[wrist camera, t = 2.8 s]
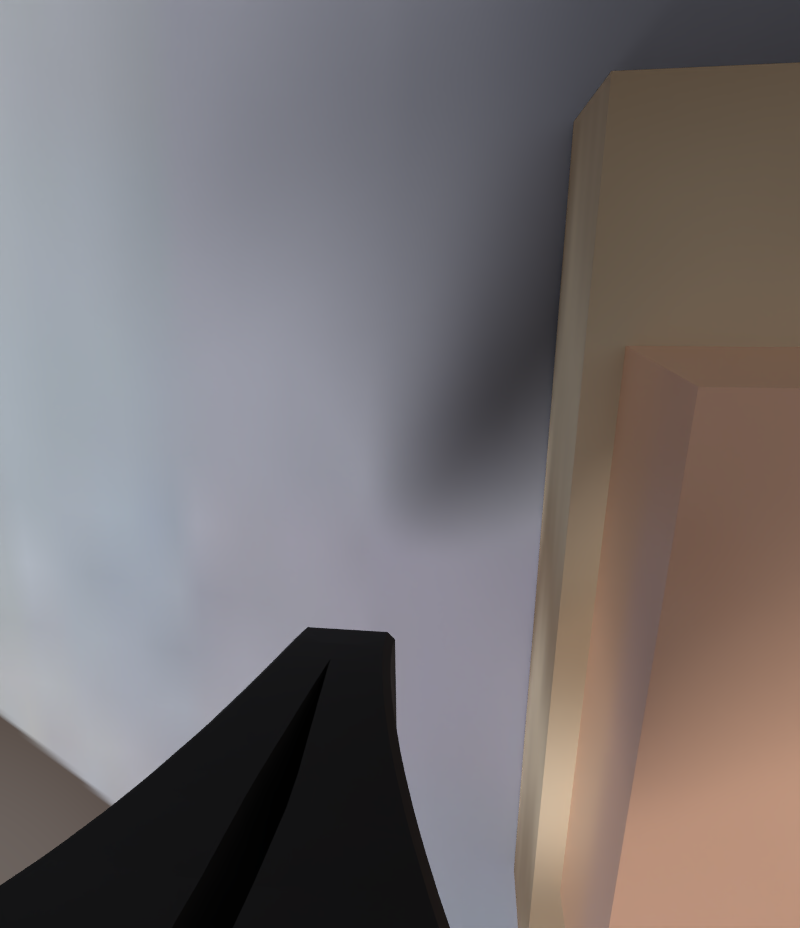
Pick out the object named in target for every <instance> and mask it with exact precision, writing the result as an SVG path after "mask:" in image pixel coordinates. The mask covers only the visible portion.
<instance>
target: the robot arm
mask: <svg viewBox="0 0 800 928" xmlns="http://www.w3.org/2000/svg"><path fill="white" fill-rule="evenodd" d="M0 928H450V927H449V924H448V921H447V918H446V915H445V912H444V909H443V906H442V903H441V900H440V897H439V894H438V891H437V888H436V885H435V881H434V878H433V875H432V872H431V869H430V865H429V862H428V859H427V856H426V852H425V849H424V845H423V842H422V838H421V835H420V831H419V828H418V824H417V820H416V817H415V813H414V809H413V805H412V801H411V797H410V793H409V788H408V784H407V780H406V776H405V772H404V767H403V762H402V757H401V753H400V747H399V741H398V735H397V729H396V676H395V639H394V638H393V637H392V636H391V635H390V634H389V633H388V632H376V631H360V630H344V629H327V628H311V627H308V628H306V629H305V630H304V631H303V632H302V633H301V634H300V635H299V636H298V637H297V638H296V639H295V640H294V641H293V642H292V643H291V644H290V645H289V646H288V647H287V648H286V649H285V650H284V651H283V652H282V653H281V654H280V655H279V656H278V657H277V658H276V659H275V660H274V661H273V662H272V663H271V664H270V665H269V666H268V667H267V668H266V669H265V670H264V671H263V672H262V673H261V674H260V675H259V676H258V677H257V678H256V679H255V680H254V681H253V682H252V683H251V684H250V685H249V686H248V687H247V688H246V689H245V690H243V691H242V692H241V693H240V694H239V695H238V696H237V697H236V698H235V699H234V700H233V701H232V702H231V703H230V704H229V705H228V706H227V707H226V708H224V709H223V710H222V711H221V712H220V713H219V714H218V715H217V716H216V717H215V718H214V719H213V720H212V721H211V722H210V723H209V724H208V725H206V726H205V727H204V728H203V729H202V730H201V731H200V732H199V733H198V734H196V735H195V736H194V737H193V738H192V739H191V740H190V741H188V742H187V743H186V744H185V745H184V746H183V747H181V748H180V749H179V750H178V751H177V752H176V753H175V754H173V755H172V756H171V757H170V758H169V759H168V760H166V761H165V762H164V763H163V764H162V765H161V766H160V767H158V768H157V769H156V770H155V771H154V772H153V773H151V774H150V775H149V776H148V777H147V778H146V779H144V780H143V781H142V782H141V783H139V784H138V785H137V786H136V787H135V788H133V789H132V790H131V791H130V792H128V793H127V794H126V795H125V796H123V797H122V798H121V799H120V800H118V801H117V802H116V803H115V804H113V805H112V806H111V807H109V808H108V809H107V810H106V811H104V812H103V813H102V814H101V815H99V816H98V817H96V818H95V819H94V820H92V821H91V822H90V823H88V824H87V825H86V826H84V827H83V828H82V829H80V830H79V831H78V832H76V833H75V834H74V835H72V836H71V837H70V838H69V839H67V840H66V841H64V842H63V843H61V844H60V845H59V846H57V847H56V848H54V849H53V850H52V851H50V852H49V853H48V854H46V855H45V856H43V857H42V858H41V859H39V860H37V861H36V862H34V863H33V864H31V865H30V866H29V867H27V868H25V869H24V870H23V871H21V872H20V873H18V874H17V875H15V876H14V877H12V878H11V879H9V880H8V881H6V882H5V883H3V884H2V885H0Z"/></svg>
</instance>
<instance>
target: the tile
mask: <svg viewBox="0 0 800 928" xmlns="http://www.w3.org/2000/svg"><path fill="white" fill-rule="evenodd" d="M560 895H561V902H562V909H563V916H564V924H565V928H800V347H729V346H626V347H625V355H624V363H623V372H622V380H621V388H620V397H619V405H618V413H617V422H616V430H615V438H614V447H613V455H612V463H611V472H610V480H609V488H608V497H607V505H606V513H605V522H604V530H603V538H602V547H601V555H600V563H599V572H598V580H597V588H596V597H595V605H594V613H593V622H592V630H591V638H590V647H589V655H588V664H587V672H586V680H585V689H584V697H583V705H582V714H581V722H580V730H579V739H578V747H577V755H576V764H575V772H574V780H573V789H572V797H571V805H570V814H569V822H568V830H567V839H566V847H565V855H564V864H563V872H562V880H561V889H560Z"/></svg>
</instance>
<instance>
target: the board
mask: <svg viewBox="0 0 800 928" xmlns="http://www.w3.org/2000/svg"><path fill="white" fill-rule="evenodd" d="M626 346H729V347H800V62H798V63H776V64H754V65H733V66H711V67H689V68H667V69H645V70H623V71H611V72H610V74H609V75H608V76H607V78H606V79H605V80H604V82H603V83H602V85H601V86H600V87H599V89H598V90H597V91H596V93H595V94H594V95H593V97H592V98H591V99H590V101H589V102H588V103H587V105H586V106H585V107H584V109H583V110H582V111H581V113H580V114H579V115H578V117H577V118H576V119H575V121H574V125H573V138H572V150H571V163H570V175H569V188H568V200H567V213H566V225H565V238H564V250H563V263H562V275H561V288H560V301H559V313H558V326H557V338H556V351H555V363H554V376H553V388H552V401H551V413H550V426H549V438H548V451H547V463H546V476H545V488H544V501H543V513H542V526H541V539H540V551H539V564H538V576H537V589H536V601H535V614H534V626H533V639H532V651H531V664H530V676H529V689H528V701H527V714H526V726H525V739H524V751H523V764H522V777H521V789H520V802H519V814H518V827H517V839H516V852H515V864H514V876H515V890H516V904H517V918H518V928H565V924H564V916H563V909H562V902H561V895H560V889H561V880H562V872H563V864H564V855H565V847H566V839H567V830H568V822H569V814H570V805H571V797H572V789H573V780H574V772H575V764H576V755H577V747H578V739H579V730H580V722H581V714H582V705H583V697H584V689H585V680H586V672H587V664H588V655H589V647H590V638H591V630H592V622H593V613H594V605H595V597H596V588H597V580H598V572H599V563H600V555H601V547H602V538H603V530H604V522H605V513H606V505H607V497H608V488H609V480H610V472H611V463H612V455H613V447H614V438H615V430H616V422H617V413H618V405H619V397H620V388H621V380H622V372H623V363H624V355H625V347H626Z"/></svg>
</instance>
